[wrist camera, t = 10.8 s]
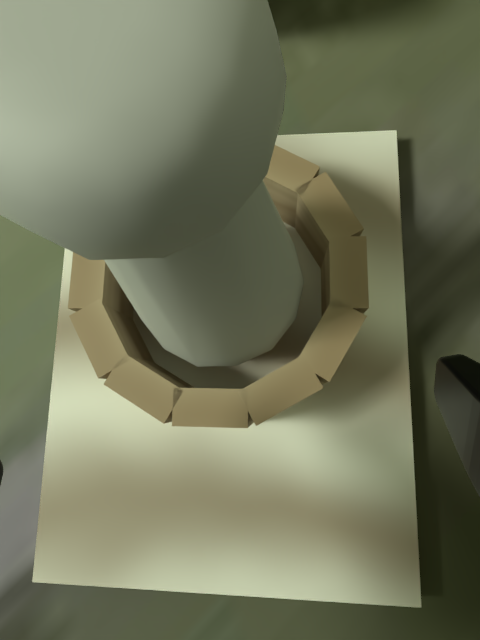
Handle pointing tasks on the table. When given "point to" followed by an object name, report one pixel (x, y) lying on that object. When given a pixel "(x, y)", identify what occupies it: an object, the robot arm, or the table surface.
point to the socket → (248, 417)
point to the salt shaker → (155, 159)
